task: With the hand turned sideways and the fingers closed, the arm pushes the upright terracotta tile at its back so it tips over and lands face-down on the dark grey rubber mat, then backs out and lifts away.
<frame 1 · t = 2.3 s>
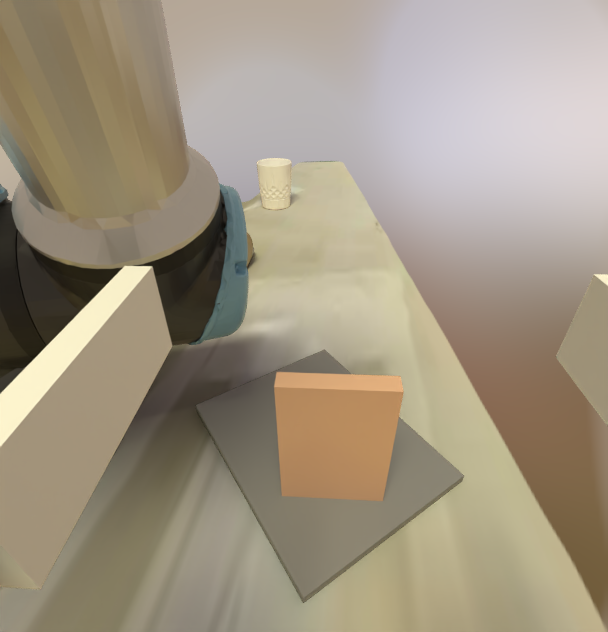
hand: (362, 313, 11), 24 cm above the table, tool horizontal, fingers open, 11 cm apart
tile: (331, 490, 31), point 1 cm above the table, touching mat
mat: (316, 442, 36), on the table
white cup: (276, 206, 93), on the table
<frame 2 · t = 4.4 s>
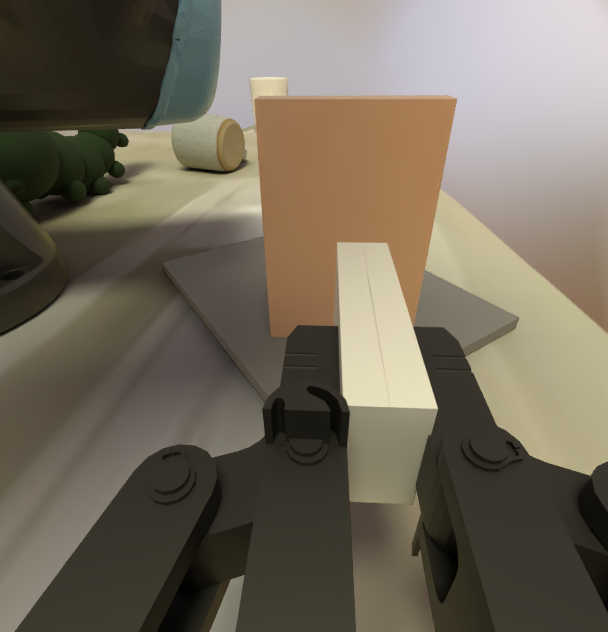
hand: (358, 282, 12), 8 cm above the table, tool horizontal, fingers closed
tile: (340, 331, 23), point 1 cm above the table, touching mat
toy figurine: (64, 203, 46), on the table
mat: (318, 296, 27), on the table
white cup: (271, 133, 85), on the table
ceramic mug: (217, 168, 59), on the table
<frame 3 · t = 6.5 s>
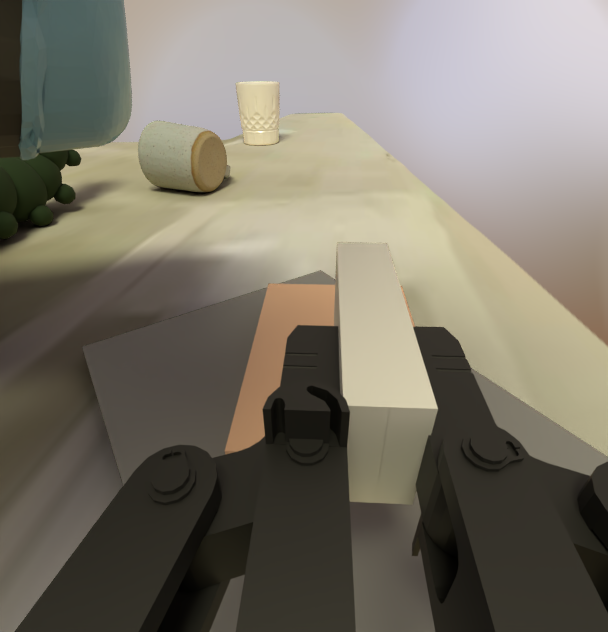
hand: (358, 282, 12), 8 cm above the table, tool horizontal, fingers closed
tile: (338, 467, 14), point 2 cm above the table, tilted 90°, touching mat
mat: (306, 410, 18), on the table
white cup: (261, 143, 76), on the table
ceramic mug: (195, 188, 50), on the table
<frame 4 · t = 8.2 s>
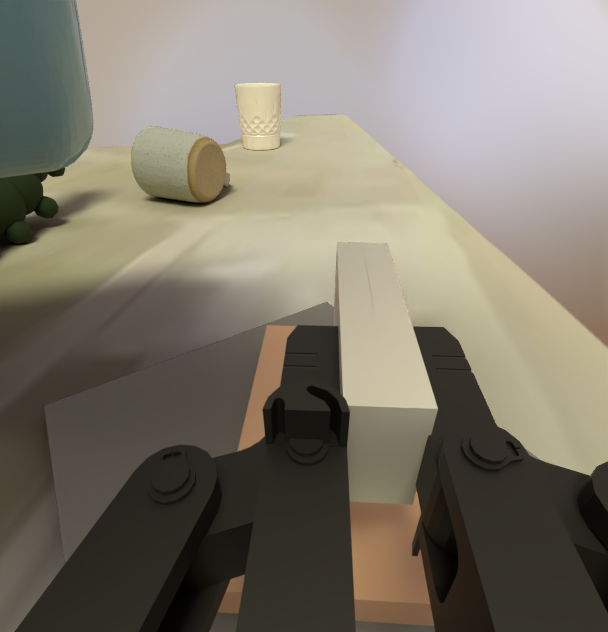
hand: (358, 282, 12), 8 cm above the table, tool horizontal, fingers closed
tile: (356, 610, 10), point 2 cm above the table, tilted 90°, touching mat
mat: (311, 496, 15), on the table
white cup: (261, 148, 72), on the table
ceramic mug: (193, 197, 47), on the table
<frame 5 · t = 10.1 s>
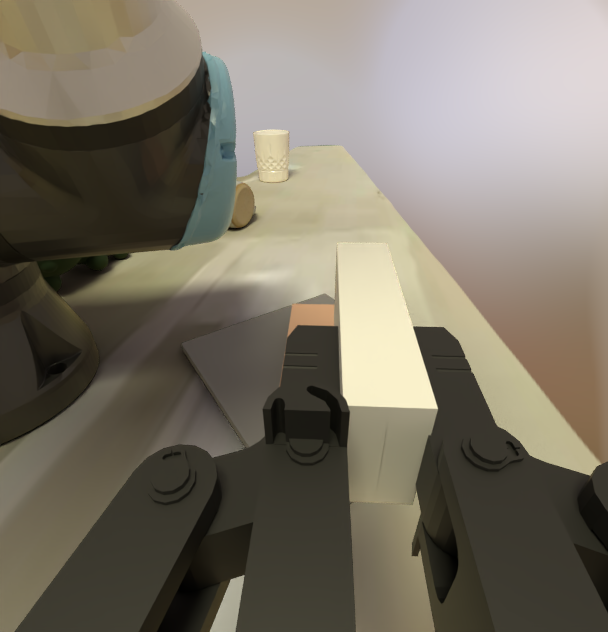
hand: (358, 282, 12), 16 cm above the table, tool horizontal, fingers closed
tile: (335, 400, 27), point 2 cm above the table, tilted 90°, touching mat
toy figurine: (88, 270, 50), on the table
mat: (317, 377, 32), on the table
white cup: (273, 180, 90), on the table
ceramic mug: (229, 223, 65), on the table
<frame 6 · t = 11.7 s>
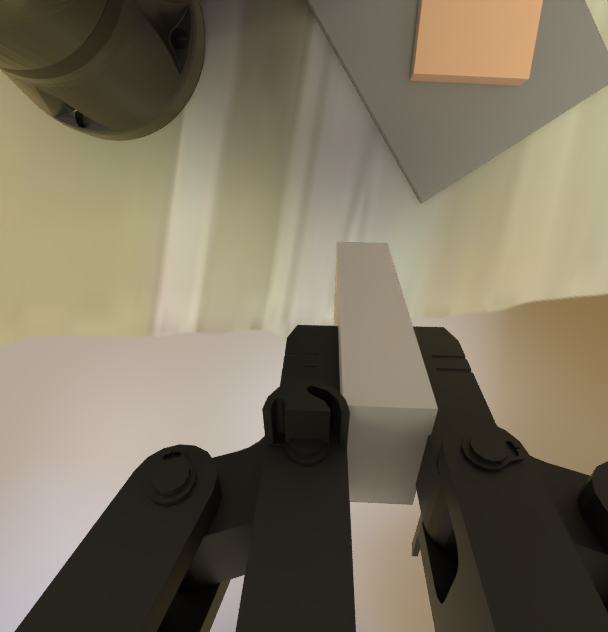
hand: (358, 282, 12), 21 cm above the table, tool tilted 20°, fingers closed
tile: (467, 79, 28), point 2 cm above the table, tilted 90°, touching mat
mat: (450, 24, 29), on the table
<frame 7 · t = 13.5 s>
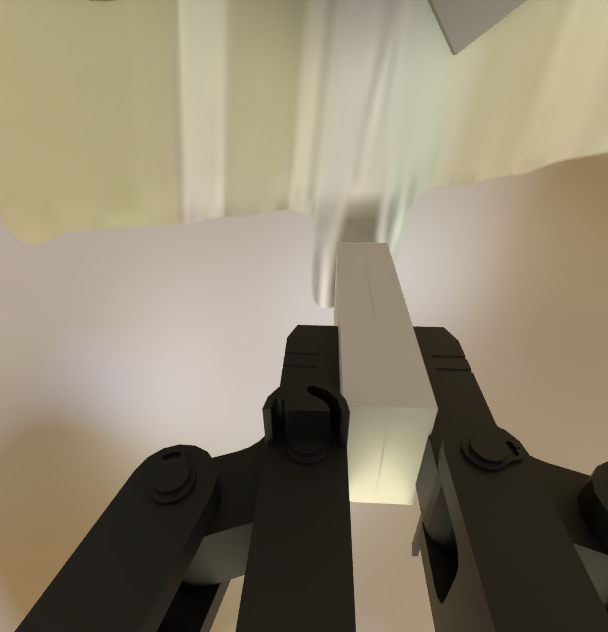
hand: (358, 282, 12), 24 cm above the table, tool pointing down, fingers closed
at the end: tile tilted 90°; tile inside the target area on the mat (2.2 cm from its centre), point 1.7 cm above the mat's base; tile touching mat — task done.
